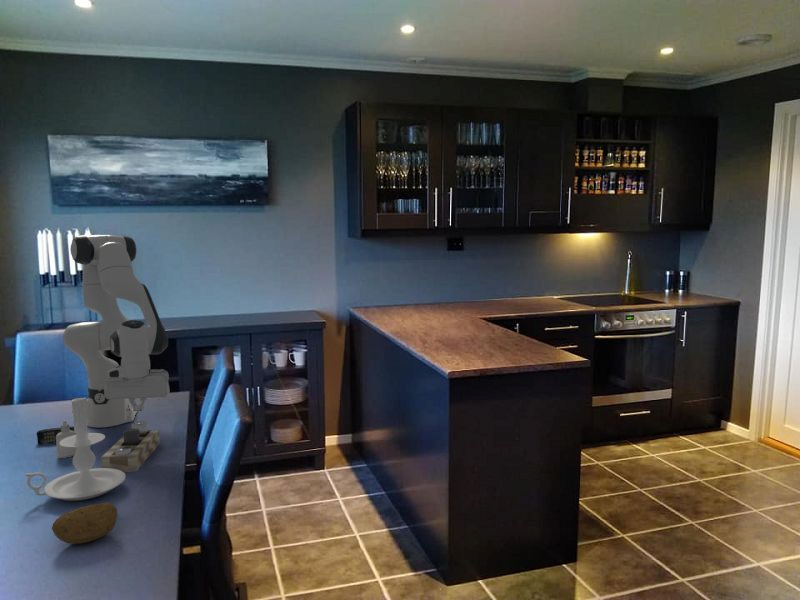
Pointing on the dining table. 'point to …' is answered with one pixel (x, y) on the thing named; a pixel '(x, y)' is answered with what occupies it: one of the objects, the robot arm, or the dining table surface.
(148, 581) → the dining table surface
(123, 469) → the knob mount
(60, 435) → the eye dropper bottle
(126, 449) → the steel knob
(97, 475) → the candlestick
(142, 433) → the steel knob
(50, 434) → the mobile phone
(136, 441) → the black knob middle
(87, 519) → the potato
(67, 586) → the dining table surface
